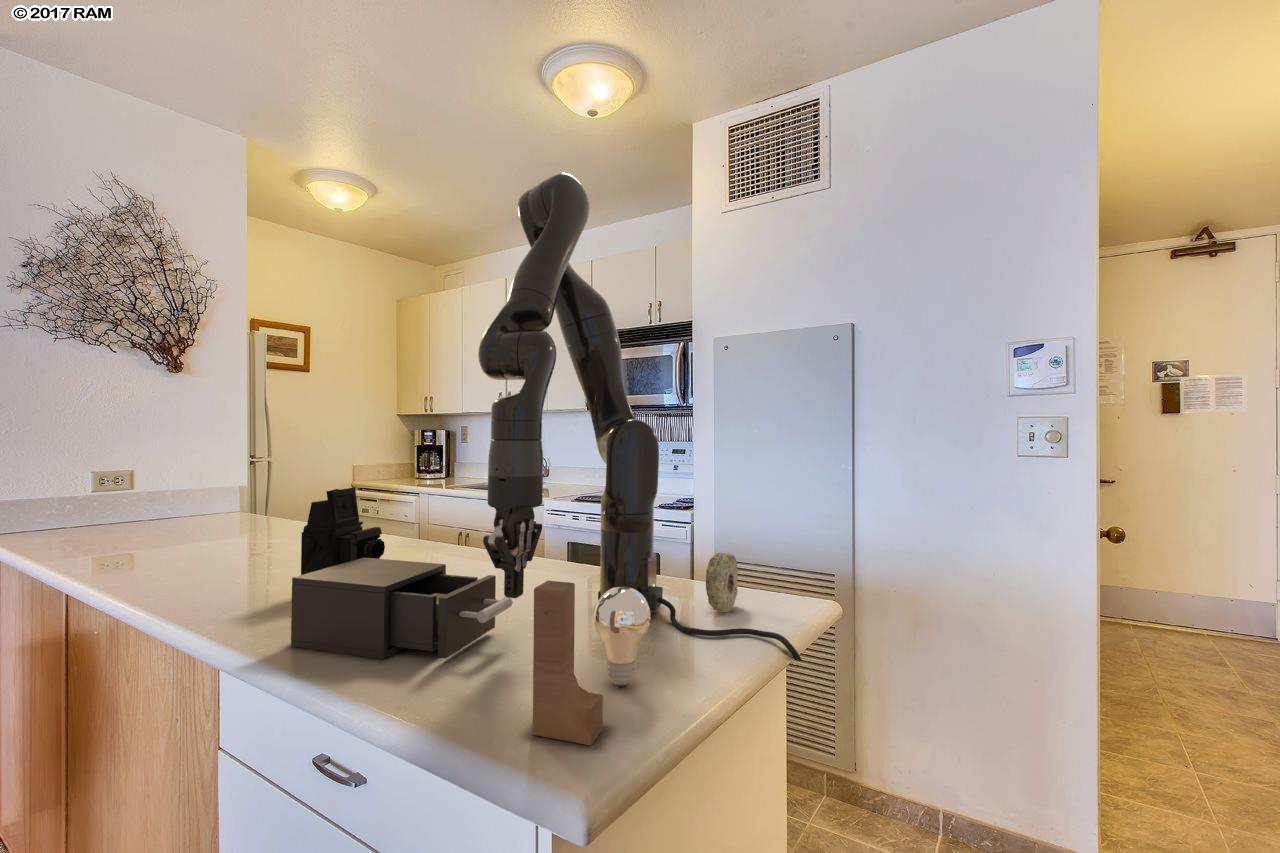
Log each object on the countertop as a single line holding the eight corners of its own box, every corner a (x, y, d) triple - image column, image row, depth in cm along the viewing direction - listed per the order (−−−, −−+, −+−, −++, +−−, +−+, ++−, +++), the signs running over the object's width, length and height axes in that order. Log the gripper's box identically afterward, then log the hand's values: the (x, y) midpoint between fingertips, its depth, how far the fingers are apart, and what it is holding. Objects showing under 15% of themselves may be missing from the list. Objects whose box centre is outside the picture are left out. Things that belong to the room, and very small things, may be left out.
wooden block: (531, 735, 57) (533, 587, 57) (546, 719, 60) (547, 579, 61) (591, 746, 55) (592, 593, 56) (603, 730, 58) (604, 585, 59)
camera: (359, 607, 98) (361, 492, 98) (292, 602, 101) (294, 489, 101) (395, 592, 108) (396, 487, 108) (333, 587, 111) (335, 485, 111)
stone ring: (721, 620, 93) (721, 559, 93) (701, 616, 95) (701, 557, 95) (742, 604, 102) (742, 549, 102) (723, 601, 104) (723, 547, 104)
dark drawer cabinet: (445, 626, 89) (446, 564, 89) (383, 659, 76) (384, 586, 76) (362, 616, 94) (363, 557, 94) (290, 646, 80) (291, 577, 80)
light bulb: (596, 672, 72) (597, 579, 73) (650, 673, 72) (651, 580, 72) (589, 698, 66) (590, 594, 66) (649, 699, 65) (650, 595, 65)
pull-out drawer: (521, 630, 85) (521, 577, 85) (475, 662, 73) (475, 601, 73) (413, 617, 90) (414, 568, 90) (354, 646, 78) (354, 589, 78)
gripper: (515, 468, 86) (513, 582, 86) (465, 474, 74) (462, 607, 73) (560, 470, 84) (558, 586, 84) (516, 476, 71) (514, 613, 71)
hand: (513, 596), depth 79 cm, fingers closed
